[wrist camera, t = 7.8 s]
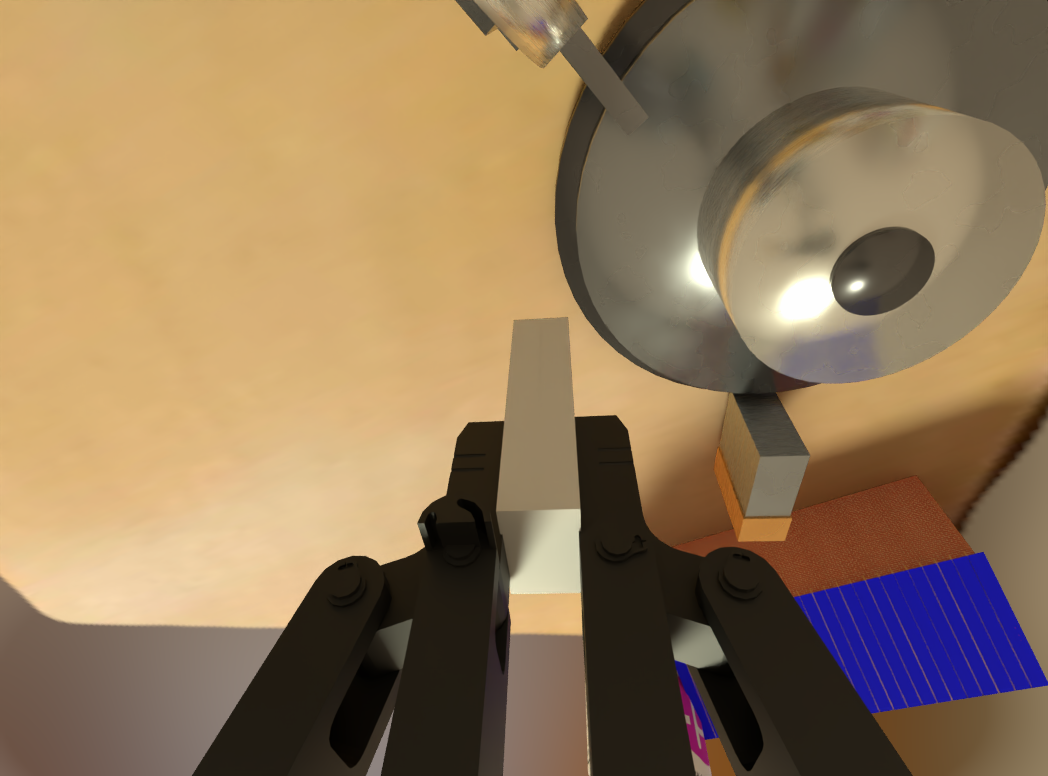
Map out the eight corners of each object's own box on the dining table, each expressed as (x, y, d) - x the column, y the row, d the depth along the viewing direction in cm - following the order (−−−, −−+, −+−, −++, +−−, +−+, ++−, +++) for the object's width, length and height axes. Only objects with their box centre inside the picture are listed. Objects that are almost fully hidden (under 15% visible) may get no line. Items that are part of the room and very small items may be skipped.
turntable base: (541, -73, 20) (540, -76, 19) (1180, -146, 18) (1208, -152, 17) (563, 388, 33) (563, 397, 32) (933, 374, 31) (943, 384, 30)
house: (647, 550, 43) (672, 705, 33) (920, 469, 36) (1047, 635, 27) (698, 620, 49) (731, 769, 39) (940, 562, 42) (1050, 725, 33)
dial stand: (436, -49, 21) (241, -118, 8) (507, -151, 19) (405, -461, 6) (579, 123, 24) (607, 271, 11) (651, 50, 22) (782, 127, 9)
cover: (709, 99, 21) (759, 133, 16) (979, 73, 20) (1124, 100, 15) (687, 318, 27) (718, 394, 22) (894, 306, 26) (977, 383, 21)
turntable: (568, -43, 19) (572, -54, 15) (1163, -110, 18) (1379, -147, 13) (582, 472, 36) (586, 543, 31) (893, 464, 34) (946, 538, 29)
